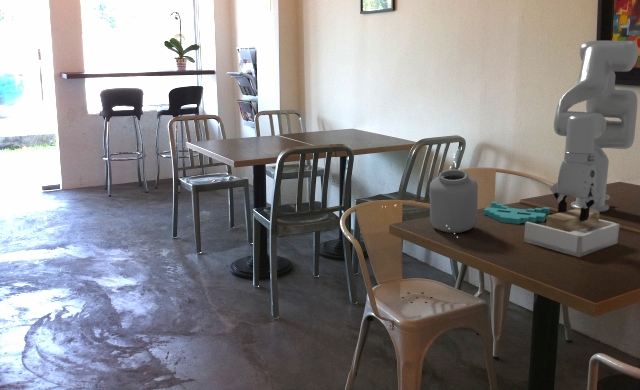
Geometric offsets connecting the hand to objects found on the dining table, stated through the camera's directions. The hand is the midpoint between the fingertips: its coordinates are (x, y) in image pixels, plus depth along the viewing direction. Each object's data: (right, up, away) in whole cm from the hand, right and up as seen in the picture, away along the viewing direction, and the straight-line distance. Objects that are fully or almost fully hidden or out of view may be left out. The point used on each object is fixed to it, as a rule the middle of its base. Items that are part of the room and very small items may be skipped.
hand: (572, 217), depth 187 cm
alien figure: (-8, -1, +31) cm, 32 cm away
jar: (-33, -5, +15) cm, 36 cm away
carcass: (0, -7, +2) cm, 8 cm away
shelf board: (0, -3, +1) cm, 3 cm away
